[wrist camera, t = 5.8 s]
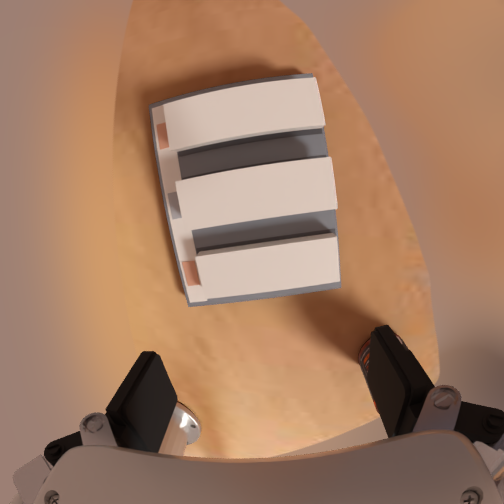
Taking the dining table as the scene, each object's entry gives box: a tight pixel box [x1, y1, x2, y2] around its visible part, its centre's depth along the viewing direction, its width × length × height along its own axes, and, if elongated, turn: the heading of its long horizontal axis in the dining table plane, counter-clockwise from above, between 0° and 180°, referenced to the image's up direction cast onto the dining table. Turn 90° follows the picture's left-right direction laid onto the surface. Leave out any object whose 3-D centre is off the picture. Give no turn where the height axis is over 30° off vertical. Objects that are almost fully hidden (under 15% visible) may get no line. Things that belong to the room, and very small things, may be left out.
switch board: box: [149, 73, 341, 307], centre depth 24 cm, size 20×15×2 cm
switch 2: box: [195, 233, 340, 299], centre depth 24 cm, size 4×12×2 cm, turn 99°
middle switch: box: [175, 157, 338, 231], centre depth 21 cm, size 4×12×2 cm, turn 99°
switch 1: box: [163, 77, 326, 152], centre depth 19 cm, size 4×12×2 cm, turn 99°
